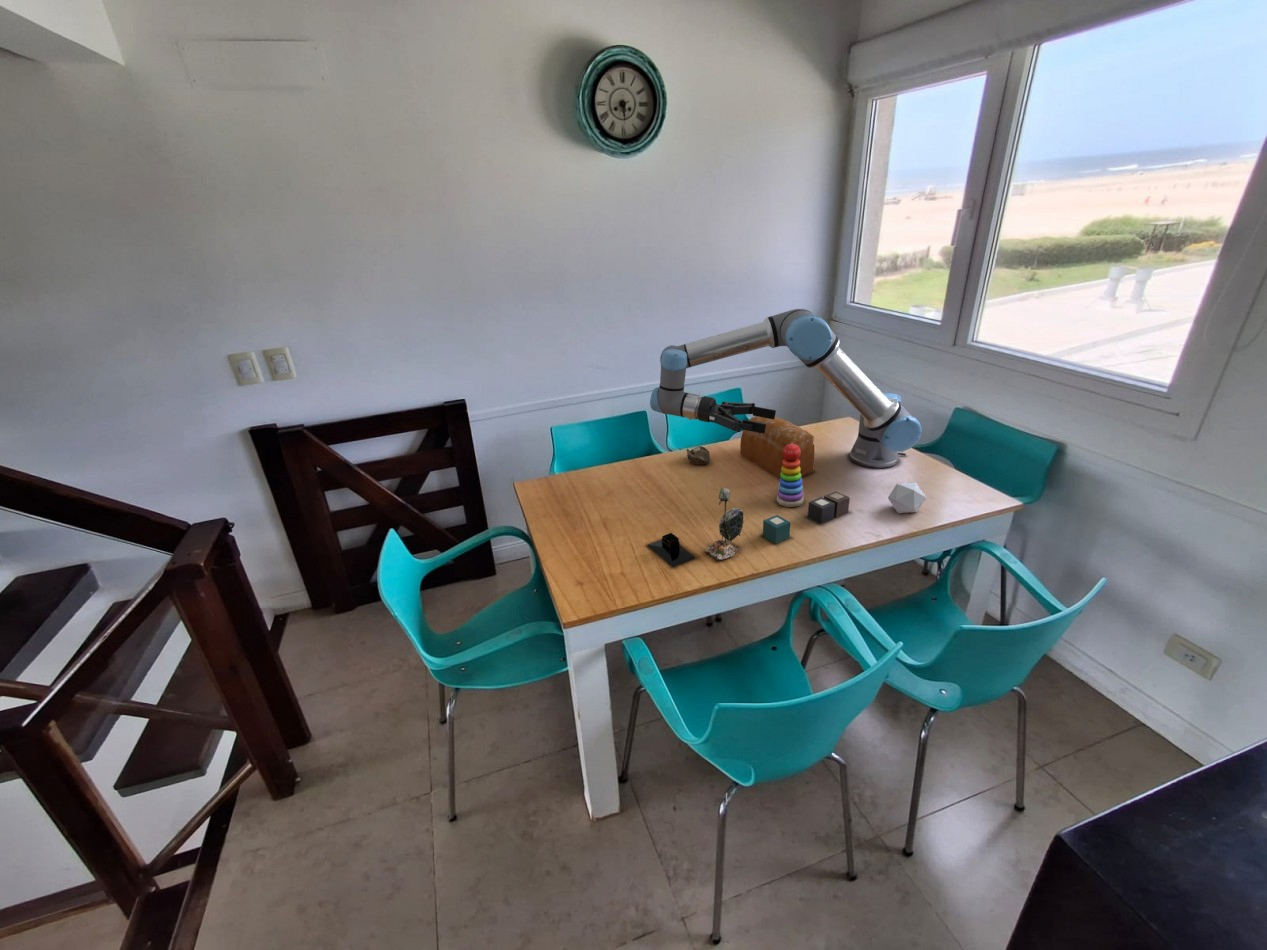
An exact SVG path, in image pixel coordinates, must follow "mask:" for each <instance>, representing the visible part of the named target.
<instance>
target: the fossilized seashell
mask: <svg viewBox="0 0 1267 950" xmlns="http://www.w3.org/2000/svg"><path fill="white" fill-rule="evenodd" d="M686 458H687V460H689V462H690V463H692V464H695V465H699V466H700V465H703V466H704V465H707V464H710V460H711V456H710V451H709V450H708V449H707V448H706V447H704V446H701V445H699V446H695V447H693V448H692V449H690V448H687V449H686Z"/></svg>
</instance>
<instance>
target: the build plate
mask: <svg viewBox="0 0 1267 950" xmlns="http://www.w3.org/2000/svg"><path fill="white" fill-rule="evenodd" d="M647 547H648V548H650V549H651V550H652V551H653V552H654V553H656V554H657V555H658V556H659V557H660V558H661V559H663V561H665V562H666V563H667V564H669V565H670V567H672V568H675V567H677V566H680V565H682V564H685V563H688V562H690V561H692V560H694V559H696V556H695V555H694V554H692V553H691V552H690V551H688V550H687V549H686V548H685V547H683V546H682V545H681V544H680V539H679V537H677V536H676V535H675V534H673V532H669V533H667V534H664V535H662V536H661V539H659V540H656V541H654V542H651V543H649V544H647Z"/></svg>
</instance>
